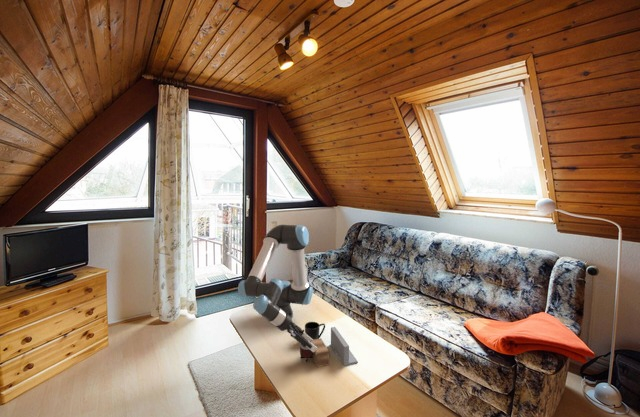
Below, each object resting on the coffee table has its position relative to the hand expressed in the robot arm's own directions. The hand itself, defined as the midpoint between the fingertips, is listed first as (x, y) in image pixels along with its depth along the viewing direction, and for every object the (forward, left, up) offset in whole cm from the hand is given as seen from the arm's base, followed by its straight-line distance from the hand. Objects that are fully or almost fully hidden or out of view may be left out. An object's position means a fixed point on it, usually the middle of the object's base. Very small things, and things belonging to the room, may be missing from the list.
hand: (313, 345), depth 145 cm
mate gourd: (0, -4, -6) cm, 7 cm away
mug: (-16, +6, -8) cm, 19 cm away
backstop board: (0, +17, -8) cm, 19 cm away
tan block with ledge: (0, +3, -8) cm, 8 cm away
